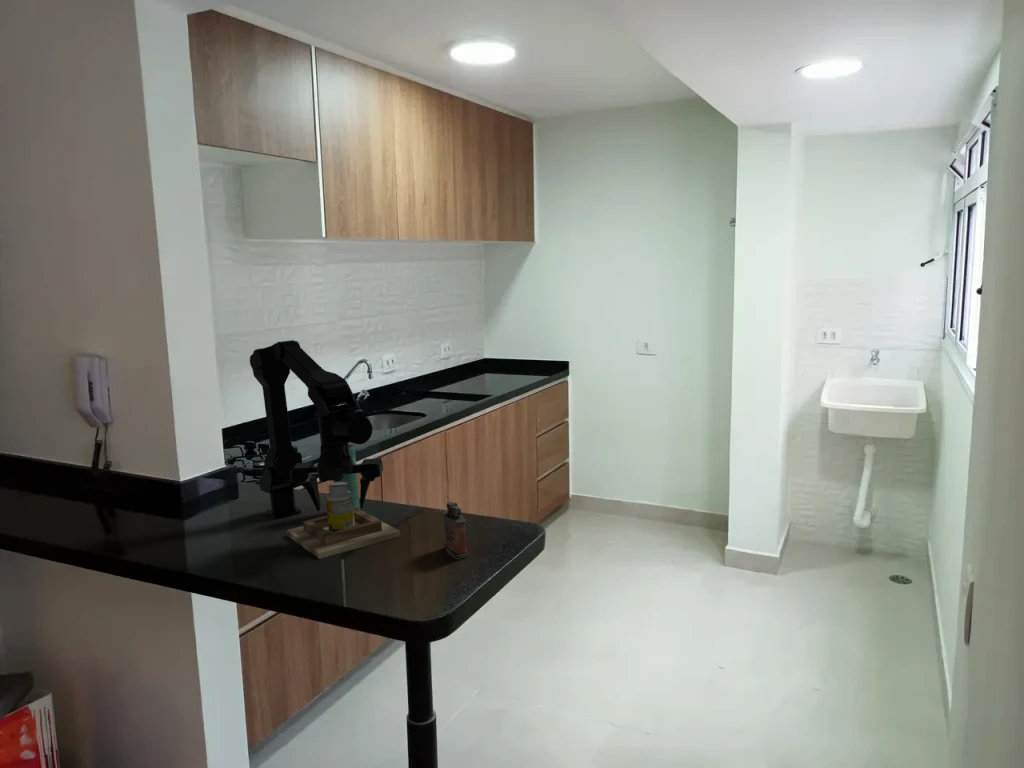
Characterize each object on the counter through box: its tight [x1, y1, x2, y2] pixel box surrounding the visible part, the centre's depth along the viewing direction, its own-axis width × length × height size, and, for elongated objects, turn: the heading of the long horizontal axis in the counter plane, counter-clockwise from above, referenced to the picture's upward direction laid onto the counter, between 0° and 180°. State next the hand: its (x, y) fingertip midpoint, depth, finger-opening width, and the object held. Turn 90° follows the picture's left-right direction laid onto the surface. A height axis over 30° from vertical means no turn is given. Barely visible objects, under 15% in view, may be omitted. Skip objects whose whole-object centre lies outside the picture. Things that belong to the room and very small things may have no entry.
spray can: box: [333, 442, 361, 511], centre depth 176 cm, size 6×6×20 cm
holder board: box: [286, 509, 401, 560], centre depth 160 cm, size 18×18×3 cm
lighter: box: [442, 501, 468, 558], centre depth 148 cm, size 8×3×10 cm, turn 23°
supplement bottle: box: [325, 482, 355, 532], centre depth 160 cm, size 6×6×10 cm
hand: (340, 509), depth 160 cm, fingers open, 9 cm apart
